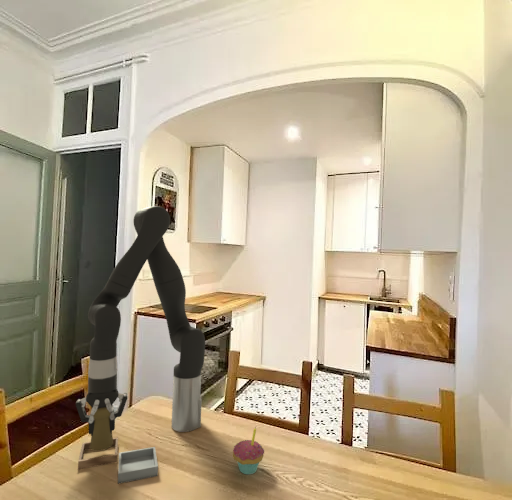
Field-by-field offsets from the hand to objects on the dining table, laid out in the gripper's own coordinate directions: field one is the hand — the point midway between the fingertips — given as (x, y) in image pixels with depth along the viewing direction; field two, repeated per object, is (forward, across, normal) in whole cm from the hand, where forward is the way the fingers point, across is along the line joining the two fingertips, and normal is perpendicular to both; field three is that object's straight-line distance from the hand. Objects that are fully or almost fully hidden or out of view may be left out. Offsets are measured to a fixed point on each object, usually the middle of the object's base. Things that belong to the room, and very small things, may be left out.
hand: (101, 432), depth 96 cm
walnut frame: (+6, +1, 0) cm, 6 cm away
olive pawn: (+4, 0, 0) cm, 4 cm away
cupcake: (+7, -37, +19) cm, 43 cm away
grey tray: (+6, -9, +10) cm, 15 cm away
